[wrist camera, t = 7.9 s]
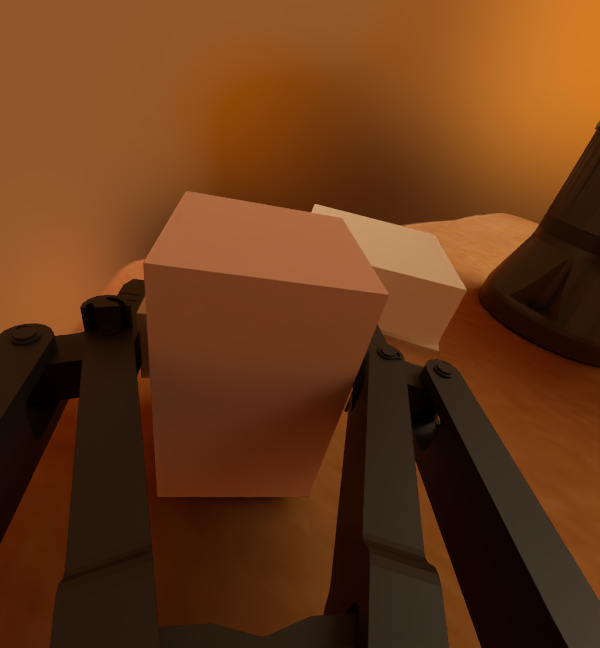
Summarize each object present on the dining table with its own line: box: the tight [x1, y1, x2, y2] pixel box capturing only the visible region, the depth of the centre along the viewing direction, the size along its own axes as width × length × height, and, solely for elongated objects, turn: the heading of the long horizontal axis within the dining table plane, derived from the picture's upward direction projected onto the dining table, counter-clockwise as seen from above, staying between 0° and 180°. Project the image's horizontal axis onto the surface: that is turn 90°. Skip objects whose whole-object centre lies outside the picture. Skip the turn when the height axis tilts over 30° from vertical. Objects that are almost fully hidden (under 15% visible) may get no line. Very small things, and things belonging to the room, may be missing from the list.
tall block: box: [143, 191, 389, 497], centre depth 14 cm, size 6×6×10 cm
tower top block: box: [311, 204, 467, 345], centre depth 25 cm, size 10×10×4 cm
